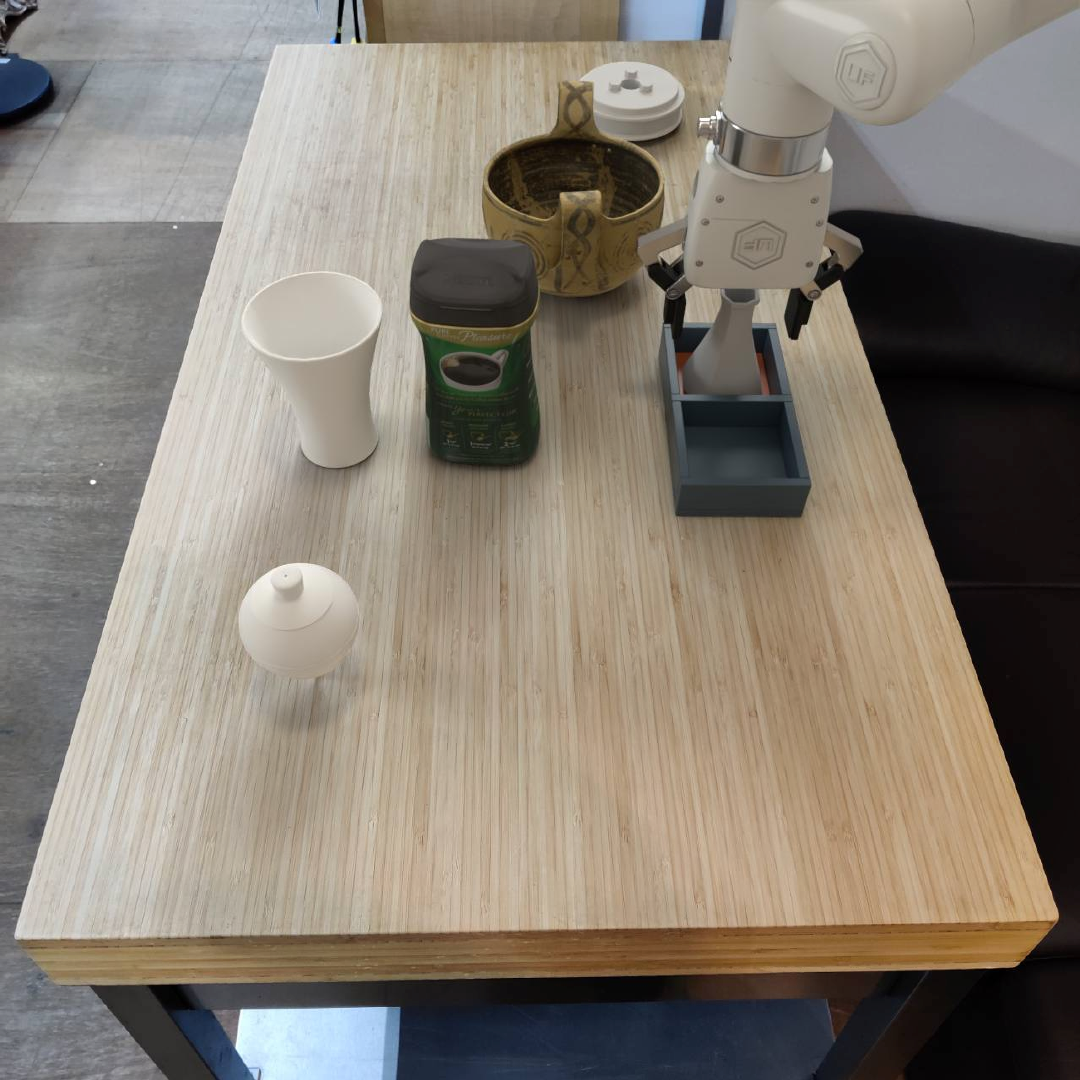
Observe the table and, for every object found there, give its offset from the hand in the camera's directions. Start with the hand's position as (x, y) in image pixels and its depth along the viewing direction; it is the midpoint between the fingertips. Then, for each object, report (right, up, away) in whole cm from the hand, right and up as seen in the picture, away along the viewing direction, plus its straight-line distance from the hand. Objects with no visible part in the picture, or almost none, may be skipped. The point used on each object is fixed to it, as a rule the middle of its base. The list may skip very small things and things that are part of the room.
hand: (732, 328), depth 82 cm
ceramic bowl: (-13, +9, +16) cm, 23 cm away
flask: (0, -4, +5) cm, 6 cm away
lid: (-6, +32, +35) cm, 48 cm away
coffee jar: (-21, -9, +2) cm, 23 cm away
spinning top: (-32, -27, -12) cm, 44 cm away
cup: (-33, -9, +2) cm, 34 cm away
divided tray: (0, -8, +3) cm, 9 cm away
